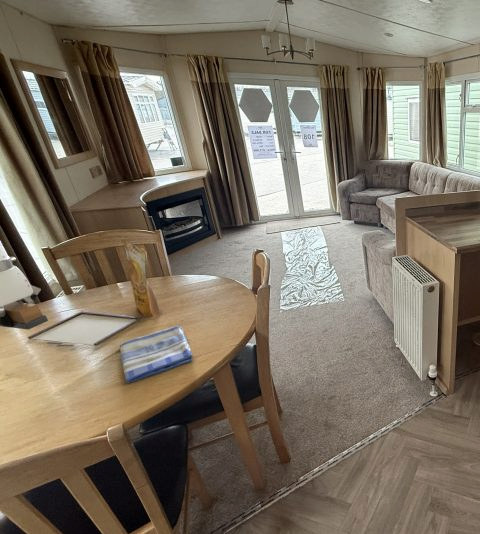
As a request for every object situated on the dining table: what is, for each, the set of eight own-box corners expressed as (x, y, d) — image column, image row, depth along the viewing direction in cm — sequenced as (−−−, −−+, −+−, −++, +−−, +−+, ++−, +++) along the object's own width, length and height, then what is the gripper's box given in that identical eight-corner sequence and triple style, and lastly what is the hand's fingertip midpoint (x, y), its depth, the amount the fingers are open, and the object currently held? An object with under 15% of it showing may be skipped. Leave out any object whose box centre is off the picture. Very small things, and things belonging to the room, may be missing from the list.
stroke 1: (50, 344, 114) (47, 345, 113) (49, 341, 113) (46, 343, 113) (64, 345, 114) (61, 346, 113) (63, 342, 113) (60, 344, 112)
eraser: (-6, 325, 101) (-16, 308, 99) (15, 316, 106) (6, 300, 103) (28, 329, 100) (19, 312, 98) (48, 320, 105) (40, 303, 102)
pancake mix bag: (154, 299, 143) (131, 236, 131) (168, 315, 132) (146, 248, 121) (133, 305, 138) (108, 240, 126) (147, 322, 127) (121, 253, 116)
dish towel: (183, 329, 124) (180, 322, 123) (196, 360, 108) (193, 353, 107) (120, 348, 113) (117, 341, 112) (125, 386, 97) (121, 379, 96)
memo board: (29, 340, 115) (27, 336, 114) (83, 314, 131) (81, 311, 130) (97, 348, 113) (95, 344, 112) (144, 320, 128) (142, 317, 127)
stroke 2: (59, 347, 112) (57, 348, 112) (58, 344, 112) (56, 346, 111) (75, 346, 113) (73, 348, 112) (74, 344, 112) (72, 346, 112)
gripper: (17, 254, 104) (43, 306, 111) (-65, 278, 88) (-29, 336, 95) (39, 257, 103) (63, 308, 110) (-41, 280, 87) (-6, 339, 95)
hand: (20, 320), depth 103 cm, fingers closed on eraser, 5 cm apart
